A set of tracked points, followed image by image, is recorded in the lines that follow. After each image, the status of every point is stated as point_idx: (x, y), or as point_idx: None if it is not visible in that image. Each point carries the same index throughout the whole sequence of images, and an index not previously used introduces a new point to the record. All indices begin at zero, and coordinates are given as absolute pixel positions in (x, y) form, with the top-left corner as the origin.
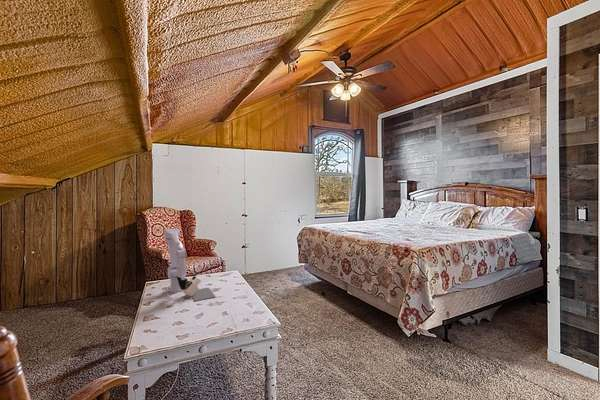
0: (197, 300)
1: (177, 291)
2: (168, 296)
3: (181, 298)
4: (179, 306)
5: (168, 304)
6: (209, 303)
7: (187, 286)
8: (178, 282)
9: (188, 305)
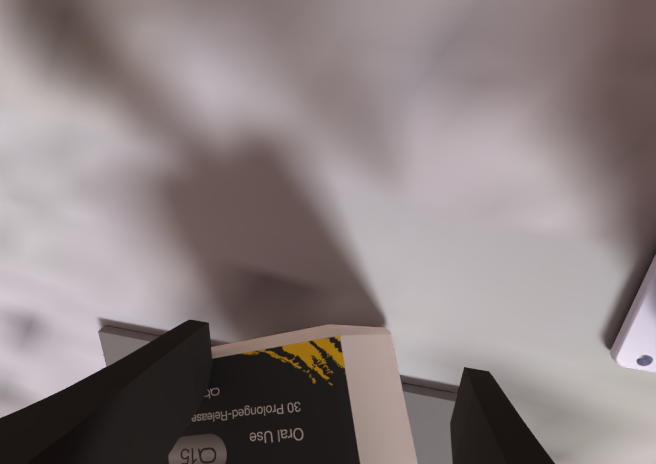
0: (106, 353)
1: (646, 280)
2: (534, 84)
3: (282, 244)
4: (18, 153)
5: (133, 23)
6: (21, 394)
7: (174, 460)
8: (502, 461)
9: (22, 245)
